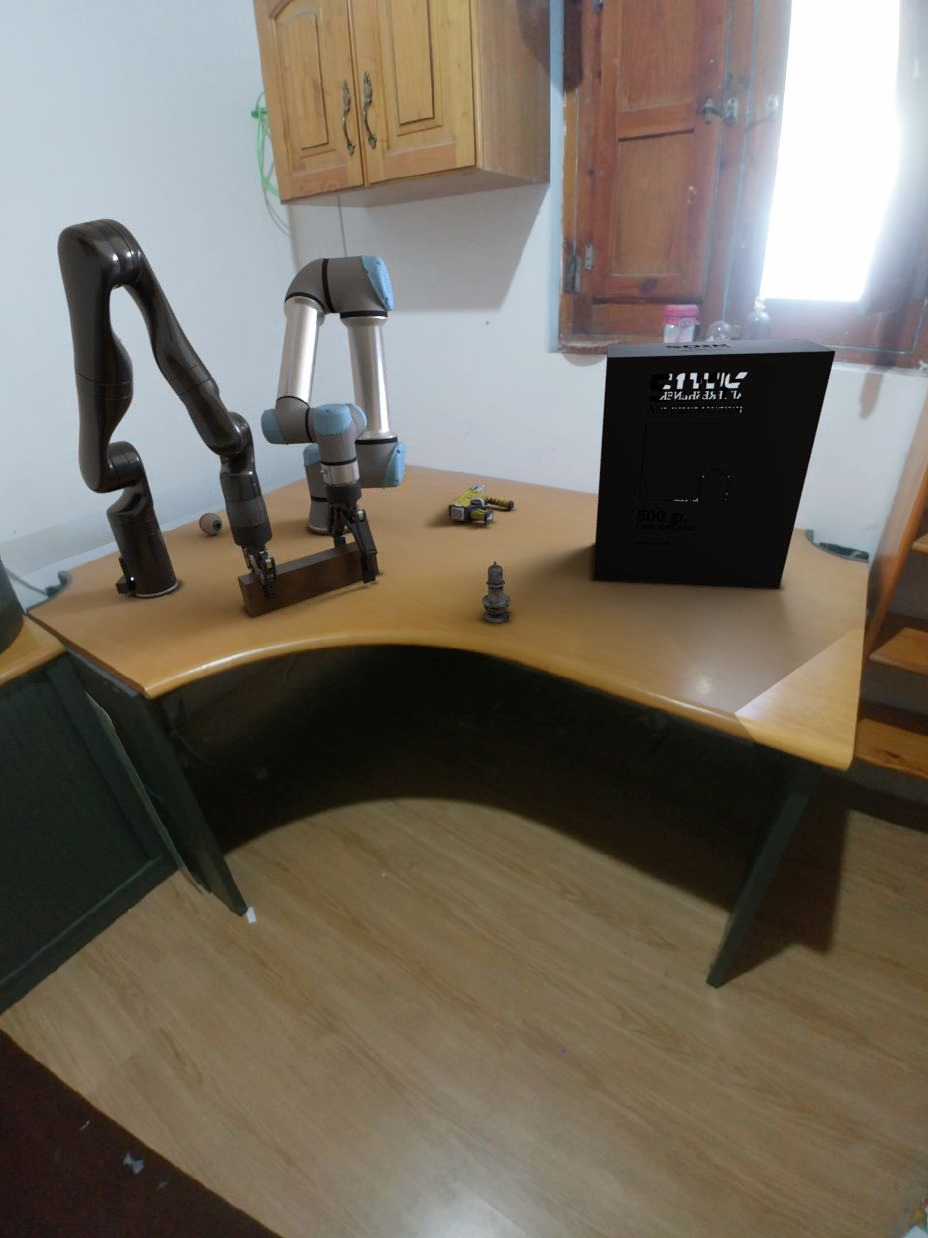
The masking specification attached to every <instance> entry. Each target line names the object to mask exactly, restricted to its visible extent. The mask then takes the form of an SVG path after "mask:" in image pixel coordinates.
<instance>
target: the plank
mask: <svg viewBox="0 0 928 1238" xmlns="http://www.w3.org/2000/svg"><path fill="white" fill-rule="evenodd" d="M360 555H361V553H360V551H359V548H358V546H357V544H356V541H355V540H354V541H352V542H349V543H346V544H345V545H341V546H338V547H335V546H334V547H332V548H329V549H325V550H321V551H319V552H316V553H312V554H309V555H306V556H302V557H298V558H295V559H292V560H288V561H285V562H282V563H279V564H275V566H276V573H277V579H278V582H275V583H274V585H275V589H276V594H277V598H275V599H272V600H267V599H266V597H265V593H264V589H263V585H262V583H261V579H260V576H259V575H258V574H256V572H252V573H251V572H249V573H246V574H242V575H239V576H237V577H236V579H237V582H238V585H239V586H238V587H239V589H240V593H241V597H242V600H243V604H244V608H245V609H246V611H247V612H249V614H250V615H251V616H252V617H253V618H254V617H257V616H260V615H264V614H267V613H269V612H272V611H275V610H278V609H281V608H284V607H287V606H290V605H293V604H295V603H298V602H301V601H305V600H307V599H311V598H313V597H317V596H319V595H322V594H325V593H328V592H331V591H334V590H337V589H340V588H343V587H345V586H348V585H352V584H354V583H358V582H360V581H363V576H362V569H361V563H360V558H359V556H360ZM372 557H373V564H374V571H375V576H378V575H379V574H380V571H379V564H378V557H377V554H376V555H372ZM268 577H270V575H269V576H267V578H268Z"/></svg>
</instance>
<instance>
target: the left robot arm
mask: <svg viewBox="0 0 928 1238" xmlns="http://www.w3.org/2000/svg"><path fill="white" fill-rule="evenodd" d="M56 252H57V258H58V259H57V260H58V265H59V271H60V275H61V280H62V286H63V290H64V295H65V299H66V304H67V309H68V316H69V325H70V332H71V341H72V350H73V369H74V379H75V389H76V395H77V406H78V407H77V408H78V453H77V454H78V466H79V471H80V474H81V477H82V479H83V482H84V483H85V485H86V487H87V488H88V489H89V490H90V491H92V492H93V493H95V494H101V495H102V494H103V495H104V494H110V493H113V492H116V491H121V490H122V492H121V495H120V496H119V497H118V499H117V500H115V502H114V503H112V504H111V505H109V506H108V507H107V509H106V512H105V515H106V518H107V522H108V524H109V526H110V529H111V532H112V535H113V537H114V540H115V542H116V546H117V548H118V551H119V553H120V555H119V557H118V558H117V560H118V563H119V565H120V569H121V571H122V573H123V574H122V575H121V576H120V577H119V579H118V580H117V581H116V582H115V584H114V586H115V587H116V590H117V593H118V595H125V596H127V595H128V594H130V595H131V597H133V598H134V597H138V598H140V599H151V598H157V597H162V596H164V595H167V594H169V593H172V592H173V591H175V590H176V589H177V588H178V587H179V581H178V579H177V576H176V573H175V570H174V566H173V564H172V561H171V556H170V554H169V551H168V548H167V544H166V542H165V538H164V535H163V533H162V529H161V526H160V523H159V520H158V518H157V514H156V511H155V507H154V506H155V505H154V503H155V502H154V498H153V495H152V492H151V488H150V484H149V480H148V476H147V472H146V468H145V465H144V462H143V459H142V457H141V455H140V453H139V451H138V450H137V448H136V447H135V446H134V445H133V444H132V443H131V442H129V441H127V440H118V441H113V442H111V439H112V436H113V434H114V433H115V431H116V429H117V428H118V426H119V425H120V423H121V422H122V420H123V419H124V417H125V416H126V414H127V412H128V410H129V408H130V406H131V404H132V402H133V398H134V394H135V393H134V391H135V390H134V389H135V388H134V387H135V386H134V366H133V360H132V358H131V356H130V353H129V352H128V350H127V349H126V346H124V344H123V343H122V341H121V339H120V338H119V337H118V335H117V334H116V331H115V330H114V327H113V325H112V319H111V295H112V292H113V290H117V289H120V288H123V289H124V290H125V291H126V292H127V293H128V295H129V297H130V298H131V299H132V300H133V302H134V303H135V305H136V307H137V309H138V310H139V312H140V314H141V316H142V319H143V322H144V325H145V327H146V331H147V335H148V340H149V344H150V348H151V352H152V357H153V358H154V361H155V364H156V367H157V368H158V370H159V372H160V373H161V375H162V376H163V378H164V380H165V381H166V382H167V384H168V385H169V386H170V388H171V390H172V391H173V392H174V393H175V395H176V396H177V397H178V399H179V400H180V402H181V403H182V405H183V406H184V408H185V409H186V411H187V413H188V416H189V418H190V420H191V422H192V424H193V426H194V428H195V429H196V432H197V433H198V435H199V438H200V439H201V440H202V442H203V443H204V444H205V445H206V447H207V448H208V449H209V450H210V451H211V452H212V453H214V454H215V455H217V456H219V462H220V470H219V472H218V475H219V476H218V477H219V484H220V487H221V491H222V495H223V499H224V504H225V512H226V516H227V519H228V524H229V527H230V531H231V535H232V539H233V542H234V544H235V545H236V546H239V547H240V548H241V551H242V554H243V558H244V561H245V564H246V568H247V569H248V570H250V572H249V573H252V572H256V574H258V575H259V576H260V579H261V583H262V585H263V589H264V593H265V597H266V599H267V600H272V599H275V598H277V594H276V589H275V585H274V583H275V582H278V579H277V573H276V566H275V565H276V560H275V557H273V556H271V553H270V550H269V548H267V547H266V544H267V543H268V542H270V541H271V540H272V538H273V531H272V527H271V522H270V518H269V513H268V509H267V505H266V504H267V503H266V502H265V499H264V497H263V492H262V488H261V484H260V479H259V476H258V474H257V468H256V454H255V453H256V452H255V446H254V445H255V444H254V438H253V433H252V429H251V426H250V425H249V422H248V420H246V418H245V417H244V416H243V415H241V413H238V412H235V411H232V410H228V409H227V407H226V405H225V403H224V402H223V400H222V398H221V396H220V395H221V390H220V387H219V385H218V383H217V381H216V380H215V378H214V377H213V375H212V374H211V372H210V370H209V369H208V368H207V367H206V365H205V363H204V362H203V360H202V359H201V357H200V355H199V354H198V353H197V351H196V350H195V349H194V347H193V345H192V343H191V342H190V340H189V339H188V337H187V335H186V333H185V331H184V329H183V328H182V326H181V324H180V323H179V320H178V318H177V316H176V314H175V312H174V310H173V308H172V306H171V304H170V302H169V300H168V298H167V296H166V294H165V292H164V290H163V287H162V285H161V284H160V282H159V279H158V278H157V276H156V273H155V271H154V269H153V267H152V265H151V264H150V262H149V259H148V257H147V256H146V254H145V252H144V250H143V248H142V247H141V245H140V243H139V242H138V240H137V238H136V237H135V236H134V234H133V233H132V232H131V231H130V230H129V229H128V228H127V226H125V225H124V224H123V223H122V222H120V221H117V220H114V219H113V218H100V219H95V220H90V221H85V222H80V223H76V224H75V223H74V224H71V225H70V226H66V227H65V228H63V229H62V230H61V232H60V233H59V235H58V239H57V251H56ZM269 575H270V577H268V578H267V576H269Z"/></svg>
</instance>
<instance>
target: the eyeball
mask: <svg viewBox="0 0 928 1238" xmlns="http://www.w3.org/2000/svg"><path fill="white" fill-rule="evenodd" d="M198 526H199V528H200V530H201V531H202V532H203V533H204V534H206V535H212V536H214V535H216V534H218V533H220V532H221V531H222V529H223V520H222V518H221V517H220V515H218V514H217V513H214V512H206V513H203V515H201V516H200V517H199V520H198Z"/></svg>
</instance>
